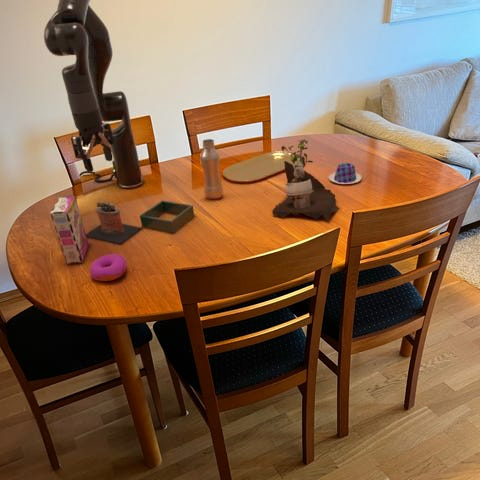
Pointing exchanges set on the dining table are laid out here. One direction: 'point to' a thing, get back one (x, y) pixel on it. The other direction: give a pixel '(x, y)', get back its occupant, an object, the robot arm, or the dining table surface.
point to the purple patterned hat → (345, 174)
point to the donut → (108, 267)
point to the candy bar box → (70, 229)
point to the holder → (172, 226)
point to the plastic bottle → (211, 170)
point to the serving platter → (258, 167)
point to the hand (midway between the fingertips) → (99, 165)
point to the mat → (113, 238)
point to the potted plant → (304, 190)
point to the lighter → (109, 218)
